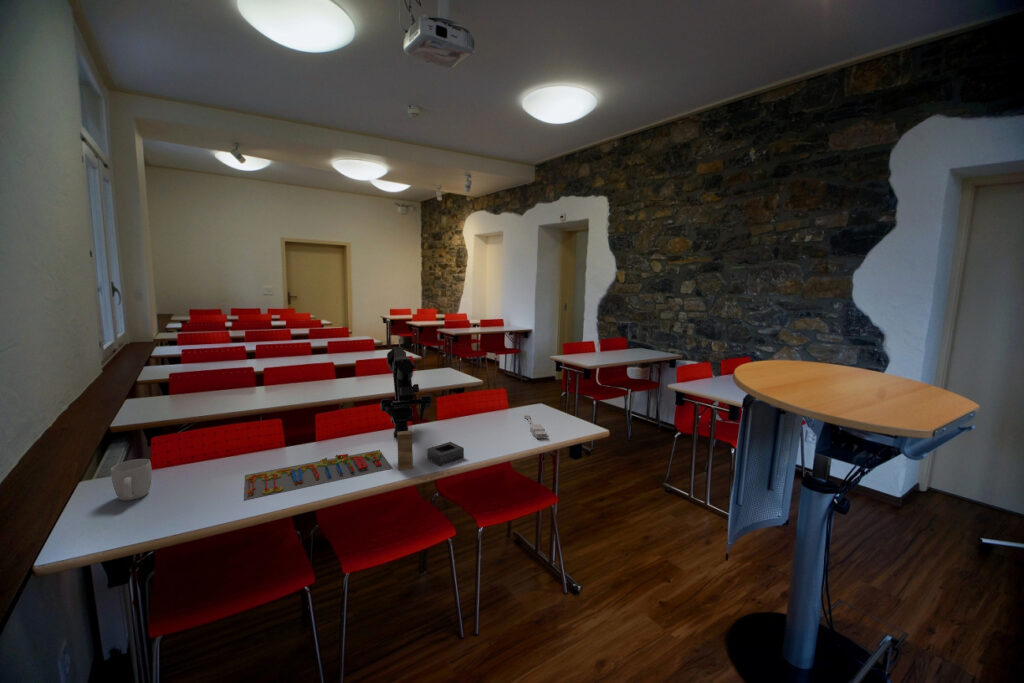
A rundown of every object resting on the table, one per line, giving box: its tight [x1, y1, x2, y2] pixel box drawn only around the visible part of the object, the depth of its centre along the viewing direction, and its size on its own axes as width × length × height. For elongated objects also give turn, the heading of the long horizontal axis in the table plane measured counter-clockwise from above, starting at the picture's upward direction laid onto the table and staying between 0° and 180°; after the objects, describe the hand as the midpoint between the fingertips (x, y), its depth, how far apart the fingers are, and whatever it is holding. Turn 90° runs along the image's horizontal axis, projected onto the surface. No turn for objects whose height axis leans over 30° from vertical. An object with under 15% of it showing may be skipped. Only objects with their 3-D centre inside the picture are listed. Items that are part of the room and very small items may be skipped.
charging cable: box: [523, 414, 547, 439], centre depth 196 cm, size 5×32×3 cm, turn 10°
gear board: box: [243, 449, 393, 502], centre depth 147 cm, size 45×2×19 cm
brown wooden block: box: [396, 430, 414, 471], centre depth 151 cm, size 3×5×13 cm, turn 107°
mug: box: [110, 458, 153, 502], centre depth 127 cm, size 13×9×10 cm
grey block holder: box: [426, 441, 465, 467], centre depth 159 cm, size 9×11×4 cm
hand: (408, 423), depth 157 cm, fingers open, 9 cm apart
